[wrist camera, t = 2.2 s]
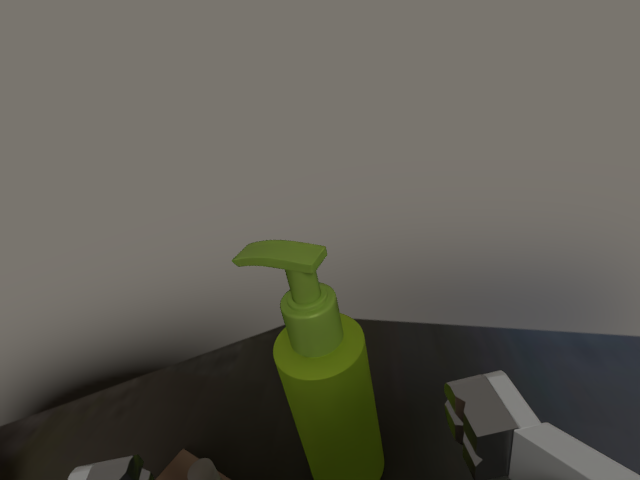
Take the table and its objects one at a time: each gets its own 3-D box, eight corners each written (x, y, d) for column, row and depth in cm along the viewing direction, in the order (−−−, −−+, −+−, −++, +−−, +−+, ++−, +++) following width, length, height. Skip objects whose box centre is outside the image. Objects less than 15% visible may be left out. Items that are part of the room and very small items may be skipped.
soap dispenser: (317, 416, 36) (262, 221, 26) (393, 438, 33) (363, 226, 23) (287, 480, 31) (206, 274, 21) (370, 512, 28) (322, 289, 18)
